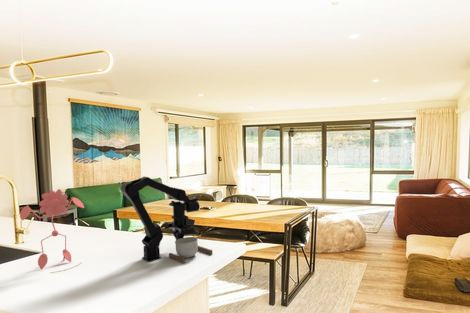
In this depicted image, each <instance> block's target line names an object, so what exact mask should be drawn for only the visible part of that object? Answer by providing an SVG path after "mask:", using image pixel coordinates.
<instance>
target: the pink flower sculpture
mask: <svg viewBox="0 0 470 313" xmlns="http://www.w3.org/2000/svg"><path fill="white" fill-rule="evenodd" d="M41 198H42V199H43V200H41V201H40V202H39V203H38V205H39V206H40V209H39V213H41V214H42V213H43V214H44V213H45V215H42V216H39V215H38V214H37V213H36V212H35V211H34V210H33V209H32V208H30V206H29V205H26V206H24V207H23V208H22V209H21V210H20V212H19V217H20V219H21V221H24V220H25V219H26V218H28V217H29V215H30V214H31V213H33V215H35V216H36V217H37V218H38V219H42V218H45V217H47V218H51V224H52V227H53V231H52V232H51V235H49V236H47V237H45V238H43V239H41V240H40V244H41V251H42V254H40V255H39V257H38V259H37V265H38V266H39V267H38V268H40V270H43V269H44V268H45V266H47V263H48V259H49V257H48V254H46V253H44V247H43V241H44V240H46V239H49V238H50V237H52V236H53V237H57V236H58V235H59V236H62V237H64V239H65V240H64V241H65V242H64V244H65V245H64V249H62V255H63V259H62V261H63V262H64V261H65V260H66V261H68V262H72V254H71V252H70V251H69V250H68V249H67V235H65V234H62V233H59V231H58V230H56V227H55V224H54V216H55V217H59V216H60V215H61V214H67V212H68V210H69V208H70V205H71V204H72V202H73V204H74V205H75V206H77V208H78V207H79V208H81V209H85V205H84V203H83V202H82V201H81V200H80V199H79V198H77V197H73V196H71V198H70V200H67V199H68V195H67V194H66V193H65V194H63V190H61V189H60V188H59V189H57V190H56V191H55V190H49V192H48V193H47V192H46V193H42V194H41ZM66 206H67V207H66ZM80 264H82V262H80ZM78 266H79V264H78V265H75V266H73V267H70V268H67V269H63V270H62V272H63V271H64V272H65V271H68V270H70V269H73V268H75V267H76V268H77V267H78ZM59 272H60V270H58V271H57V273H59ZM51 273H53V274H54V273H55V271H51V272H50V274H51Z"/></svg>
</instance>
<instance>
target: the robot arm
mask: <svg viewBox="0 0 470 313" xmlns="http://www.w3.org/2000/svg"><path fill="white" fill-rule="evenodd" d="M145 187H149V188H150V189H151V188H152V189H153V190H156V191H159V192H161V193H163V194H166V195H167V196H168V197H169V198H171V199H172V200H171V202H169V204H168V206H170V207H172V214H173V215H171V219H172V220H173V221H169V222H165V223H164V230H165V229H166V230H169V229H170V228H171V230H170V231H171V233H172V235H173V237H174V238H175V241H176V240H177V239H181V238H185V236H188V235H190V234H195V233H196V227H195V224H196V222H195V221H196V220H195V219H193V218H189V216H187V215H186V213H194V212H199V211H200V207H201V206H200V203H199V201H198V198H197V197H193V198H189V196H188V195H187V193H186V191H185V189H182V188H176V187H173V186H169V185H167V184H164V183H163V182H162V183H161V182H160V181H157V180H155V179H152V178H151V177H148V176H142V177H140V178H137V179H134V180H131V181H124V182H123V183H122V184H121V186H120V188H119V189H120V192H121V193H122V194H123V196H124V197H126V199H127V200H128V201H129V202H130V203H131V205H132V206H133V209H134V210H135V212H136V214H137V216H138V218H139V219H140V221H141V223H142V225H143V227H144V233H145V236H144V237H143V238H142V240H141V242H142V244H143V256H142V259H143V260H146V261H147V262H152V261H155V260H159V259H161V256H160V255H161V253H160V244H161V242H162V240H163V238H164V234H163V233H164V231H163V230H162V229H161V226H160V225H159V224H157V223H154V222H153V220H152V218H151V216H150V215H149V213H148V211H147V209H146V207H145V205H144V203H143V201H142V199H141V197H140V196H141V195H140V191H141V190H142V189H144V188H145ZM174 200H175V201H174Z"/></svg>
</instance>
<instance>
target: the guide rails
mask: <svg viewBox="0 0 470 313" xmlns="http://www.w3.org/2000/svg"><path fill="white" fill-rule="evenodd" d="M197 252H200V253H201V252H202V253H205V254H207V255H213V249H209V248H208V247H204V246H201V245H198V251H197ZM168 258H169V259H171V260H174V261H177V262H179V263H182V264H186V258H183V257H180V256H179V255H178V254H175V253H173V252H169V253H168Z"/></svg>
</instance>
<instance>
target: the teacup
mask: <svg viewBox="0 0 470 313" xmlns="http://www.w3.org/2000/svg"><path fill="white" fill-rule="evenodd" d="M174 243H175V244H174V245H175V251H176V255H178V256H180V257H183V258H185V259H187V258H189V259H190V258H192V257H194V256H195V255H196V254H197V253H198V252H199V251H198V246H199V242H198V237H197V236H191V237H190V236H189V237H183V238H181V239H177V240H176V239H175V241H174Z"/></svg>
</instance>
